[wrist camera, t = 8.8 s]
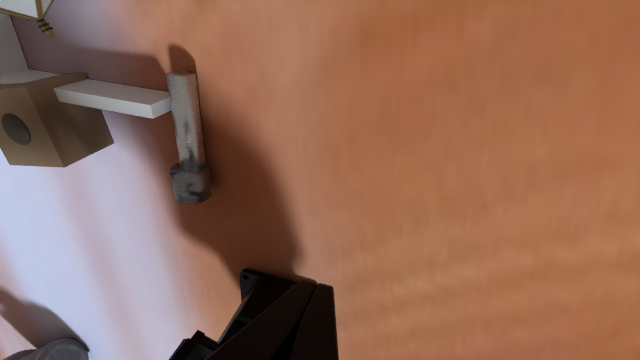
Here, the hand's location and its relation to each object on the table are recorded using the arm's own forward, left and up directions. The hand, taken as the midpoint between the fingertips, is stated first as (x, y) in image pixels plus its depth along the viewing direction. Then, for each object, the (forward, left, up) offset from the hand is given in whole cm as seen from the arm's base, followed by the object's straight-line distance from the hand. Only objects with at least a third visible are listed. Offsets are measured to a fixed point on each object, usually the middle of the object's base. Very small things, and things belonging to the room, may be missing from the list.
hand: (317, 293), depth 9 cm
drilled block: (-2, +22, -12) cm, 25 cm away
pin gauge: (-2, +12, -12) cm, 17 cm away
